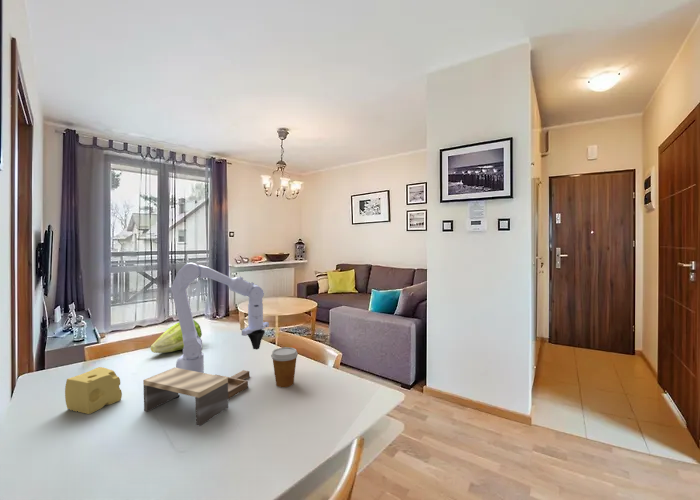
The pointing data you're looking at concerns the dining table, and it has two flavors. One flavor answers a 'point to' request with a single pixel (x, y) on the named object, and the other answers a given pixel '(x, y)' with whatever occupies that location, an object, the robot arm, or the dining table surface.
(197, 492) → the dining table surface
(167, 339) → the lettuce
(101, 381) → the cheese
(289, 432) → the dining table surface
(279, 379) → the disposable coffee cup
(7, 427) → the dining table surface
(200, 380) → the counter shelf
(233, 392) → the tray
